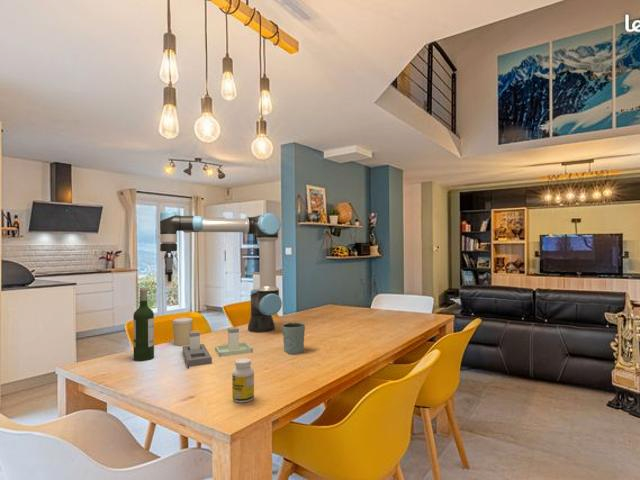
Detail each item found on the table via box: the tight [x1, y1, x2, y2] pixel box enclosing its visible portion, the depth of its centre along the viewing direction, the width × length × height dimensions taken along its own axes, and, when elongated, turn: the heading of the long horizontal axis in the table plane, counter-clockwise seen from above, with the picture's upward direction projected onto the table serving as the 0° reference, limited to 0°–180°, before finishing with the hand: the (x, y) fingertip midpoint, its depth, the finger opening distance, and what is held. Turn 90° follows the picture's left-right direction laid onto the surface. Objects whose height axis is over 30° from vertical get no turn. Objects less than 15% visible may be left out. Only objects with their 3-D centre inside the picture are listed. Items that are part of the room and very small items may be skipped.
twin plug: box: [188, 330, 201, 350], centre depth 162 cm, size 4×4×10 cm
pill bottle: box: [231, 357, 255, 403], centre depth 113 cm, size 6×6×12 cm
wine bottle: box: [132, 286, 155, 362], centre depth 158 cm, size 8×8×30 cm
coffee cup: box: [172, 317, 194, 347], centre depth 181 cm, size 9×9×12 cm
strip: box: [182, 343, 213, 369], centre depth 156 cm, size 9×24×4 cm, turn 25°
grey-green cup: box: [281, 322, 306, 356], centre depth 164 cm, size 10×10×12 cm
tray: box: [214, 341, 253, 358], centre depth 165 cm, size 14×12×2 cm
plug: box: [227, 326, 240, 351], centre depth 165 cm, size 4×4×10 cm
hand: (168, 287), depth 179 cm, fingers open, 13 cm apart
